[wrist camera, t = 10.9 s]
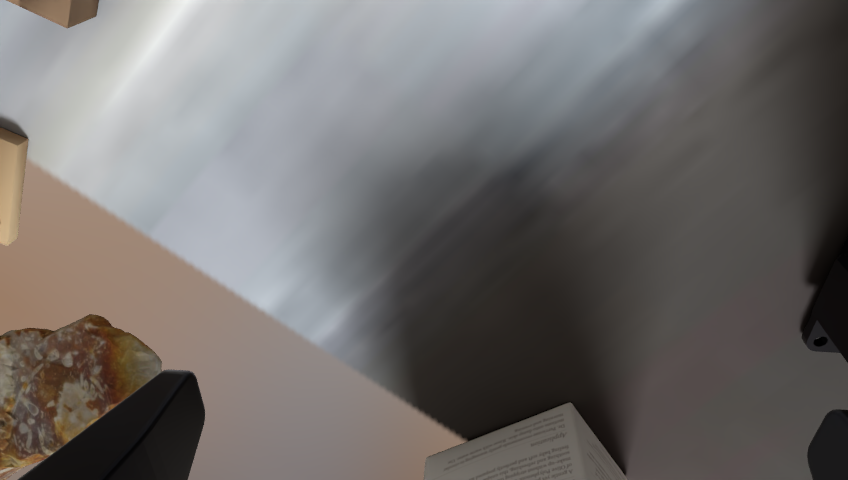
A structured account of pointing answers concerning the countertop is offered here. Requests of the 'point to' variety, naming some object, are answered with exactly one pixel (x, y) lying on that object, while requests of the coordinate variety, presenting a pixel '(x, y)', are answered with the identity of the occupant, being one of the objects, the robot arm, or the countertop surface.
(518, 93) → the countertop surface
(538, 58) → the countertop surface
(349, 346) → the countertop surface
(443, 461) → the skincare box
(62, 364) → the decorative stone
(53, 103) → the countertop surface
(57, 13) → the walnut rack
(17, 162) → the oak offcuts
